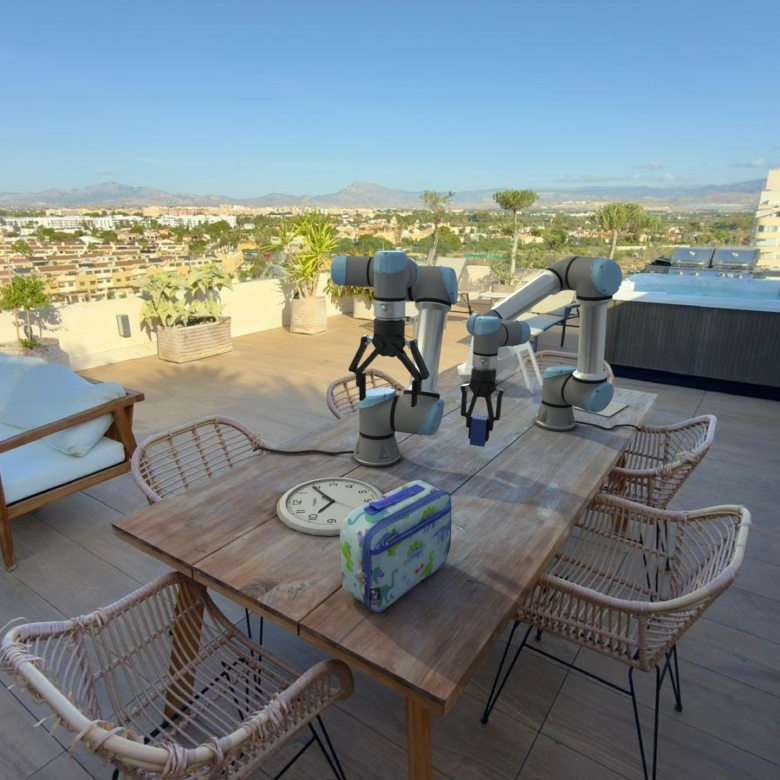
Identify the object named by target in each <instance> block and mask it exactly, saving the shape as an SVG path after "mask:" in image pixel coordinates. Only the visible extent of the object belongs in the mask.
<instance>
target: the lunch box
mask: <svg viewBox="0 0 780 780" xmlns="http://www.w3.org/2000/svg"><path fill="white" fill-rule="evenodd" d="M383 494H384V495H382V496H380V497H378V498H376V499H374V500H372V501H370V502H368V503H366V504H364V505H362V506H360V507H358V508H356V509H354V510H353V511H351V512H350V513H349V514H348V515H347V516H346V518H345V519H344V521H343V523H342V526H341V530H340V535H339V551H340V574H341V576H340V577H341V585H342V588H343V589H342V590H343V591H344V593H346V594H348V595H350V596H352V597H353V598H355V599H357V600H358V601H359V602H361V603H362V604H364V605H365V606H366V608H367V609H369V610H370V611H371V612H374V613H381V612H384V611H385V610H386V609H387V608H389V607H390V606H391V605H392V604H393V603H395V602H396V601H397V600H399V599H400V598H401V597H402V596H404V595H405V594H407V593H408V592H410V591H411V590H412V589H413V588H415V587H416V586H417V585H418V584H419V583H420V582H421V581H423V580H425V579H426V578H427V577H429V576H430V575H432V574H434V573H435V572H436V571H438V570H439V569H440V568H441V567H442V566H443V565H444V563H445V562H446V560H447V558H448V556H449V553H450V550H451V549H450V548H451V545H452V543H451V542H452V497H451V494H450V492H449V491H448V490H446V489H438V488H437V487H435V486H434V485H431V484H429V483H427V482H426V481H424V480H421V479H416V480H413V481H410V482H408V483H405V484H403V485H401V486H399V487H397V488H394V489H393V490H390V491H388V492H387V493H383Z"/></svg>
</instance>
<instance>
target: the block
mask: <svg viewBox="0 0 780 780" xmlns="http://www.w3.org/2000/svg"><path fill="white" fill-rule="evenodd" d="M471 417H472V418H471V432H470V439H469V445H470V446H476V447H482V448H485V446H486V444H487V442H488V441H485V437H486V425H487V420H488V419H489V416H488V414H482V413H481V414H480V413H473V414H472V416H471Z"/></svg>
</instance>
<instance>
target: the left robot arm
mask: <svg viewBox="0 0 780 780" xmlns="http://www.w3.org/2000/svg"><path fill="white" fill-rule="evenodd" d="M329 271H330V272H329V273H330V279H331V281H332V282H333V284H334V285H337V286H343V287H355V288H362V289H368V290H371V291H373V316H374V317H375V318H374V319H373V329H372V330H373V336H369V335H368V334H365V335H363V336H361V337H360V341H359V347H358V348H357V351H356V353H355V355H354V357H353V359H352V361H351V362H350V365H349V367H348V368H347V369H348V372H351V373H354V374H355V386H356V388H358V401H359V404H358V438H357V440H356V443H355V447H354V449H353V450H342V451H341V450H340V451H327V450H322V449H304V450H293V451H292V450H281V449H273V448H268V447H265V446H256V447H254V448H253V449H252V452H256V451H258V450H261V451H264V452H267V453H268V452H269V453H277V454H283V455H301V454H322V455H330V456H336V455H337V456H338V455H350V454H353V460H354V461H355V462H356V463H358V464H359V465H361V466H364V467H370V468H385V467H389V466H393V465H394V464H396V463H398V462H399V460H400V459H401V453H400V448H399V445H398V442H397V439H396V432H397V433H404V434H411V435H417V436H429V437H431V436H434V435H436V433H437V432H438V430H439V428H440V425H441V424H442V420H443V416H444V412H445V411H444V410H445V401H444V400H443V399H442V398H441V392H439V391H438V389H437V385H438V384H437V383H438V377H439V369H440V359H441V352H442V344H443V335H444V329H445V327H444V326H445V322H446V315H447V314H448V313H450V312H451V310H452V306H454V305H456V304H457V303H458V297H459V290H458V289H459V288H458V286H459V285H458V277H457V272H456V270H455V269H454V268H453V267H451V266H443V265H419V264H418V263H417V261H416V260H415V259H413V258H411V257H408V256H407V253H406V252H405V251H402V250H377V251H376V252H375V253H374V256H359V255H347V254H345V255H337V256H334V257H333V258H332V260H331V262H330V269H329ZM406 302H414V307H415V309H416V310H417V311H418V315H417V322H416V329H415V336H414V339H406V337H405V335H406V328H405V327H406V320H405V319H404V317H405V316H406ZM370 344H372V345H373V347H374V349H373V350H372V352H371V353H370V354H369V355H368V357H367V358H365V360H364V361H363V362H362V363H361V364H360V362H361V360H362V358H363V356H364V354H365V352H366V350H367V348H368V346H369V345H370ZM406 346H407V348H408V350H410V353H411V355H412V360H411V359H410V357H409V356H408V355H407V352H406V351H405V349H404V348H405V347H406ZM379 355H380V356H381V357H389V358H395V357H396V358H397V359H398V360H399V361H400V362H401V363H402V365H403V366H404V367H405V369H406V370H407V371H408V373H409V374H410V376H409V383H408V385H407V386H406V387H404V388H403V392H402V395H401V394H400V395H399V394H397V391H396V389H395V388H392V387H375V388H371V389H368V390H367V373H365V372H364V371H365V370H366V369H367V368H368V367H369V366H370V365H371V363H372V362H373V361H374V360H375V359H376V358H377V357H378V356H379ZM359 364H360V366H359Z"/></svg>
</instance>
